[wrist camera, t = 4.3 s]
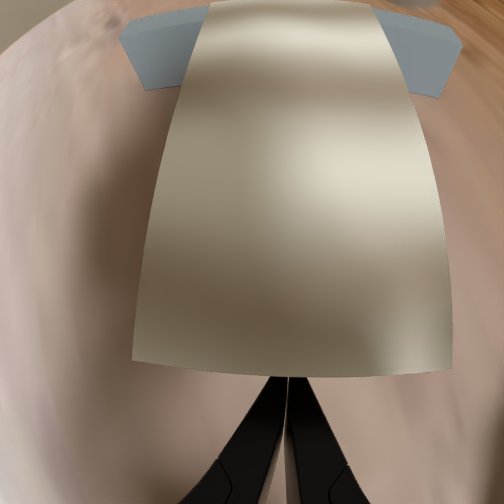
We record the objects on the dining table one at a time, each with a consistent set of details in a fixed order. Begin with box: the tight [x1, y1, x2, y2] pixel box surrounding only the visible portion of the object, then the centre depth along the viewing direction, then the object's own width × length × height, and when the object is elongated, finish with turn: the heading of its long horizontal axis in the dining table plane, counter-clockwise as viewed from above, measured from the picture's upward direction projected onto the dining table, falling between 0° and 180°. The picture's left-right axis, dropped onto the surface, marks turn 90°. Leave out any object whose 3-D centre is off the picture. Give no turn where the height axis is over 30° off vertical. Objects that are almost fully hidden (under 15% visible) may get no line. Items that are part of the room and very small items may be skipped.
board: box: [119, 6, 463, 98], centre depth 18 cm, size 2×24×6 cm, turn 86°
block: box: [132, 0, 452, 377], centre depth 13 cm, size 16×8×9 cm, turn 177°
